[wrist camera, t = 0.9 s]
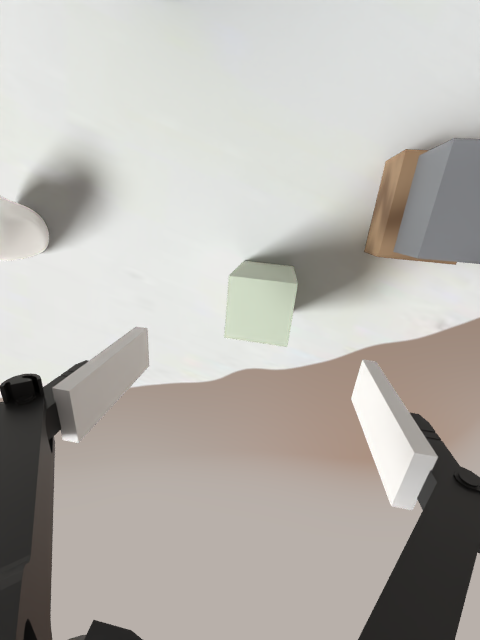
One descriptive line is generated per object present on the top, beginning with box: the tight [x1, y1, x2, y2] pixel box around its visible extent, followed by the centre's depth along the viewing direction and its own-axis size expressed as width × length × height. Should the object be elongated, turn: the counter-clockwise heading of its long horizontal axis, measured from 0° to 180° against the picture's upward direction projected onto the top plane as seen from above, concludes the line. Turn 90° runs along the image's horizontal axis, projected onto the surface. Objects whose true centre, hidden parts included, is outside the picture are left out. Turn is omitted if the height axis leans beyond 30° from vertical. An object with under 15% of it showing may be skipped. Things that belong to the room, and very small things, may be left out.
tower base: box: [364, 149, 457, 265], centre depth 26 cm, size 9×7×5 cm
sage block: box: [224, 261, 298, 347], centre depth 29 cm, size 6×6×10 cm
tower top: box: [393, 138, 480, 264], centre depth 21 cm, size 8×5×5 cm, turn 176°
